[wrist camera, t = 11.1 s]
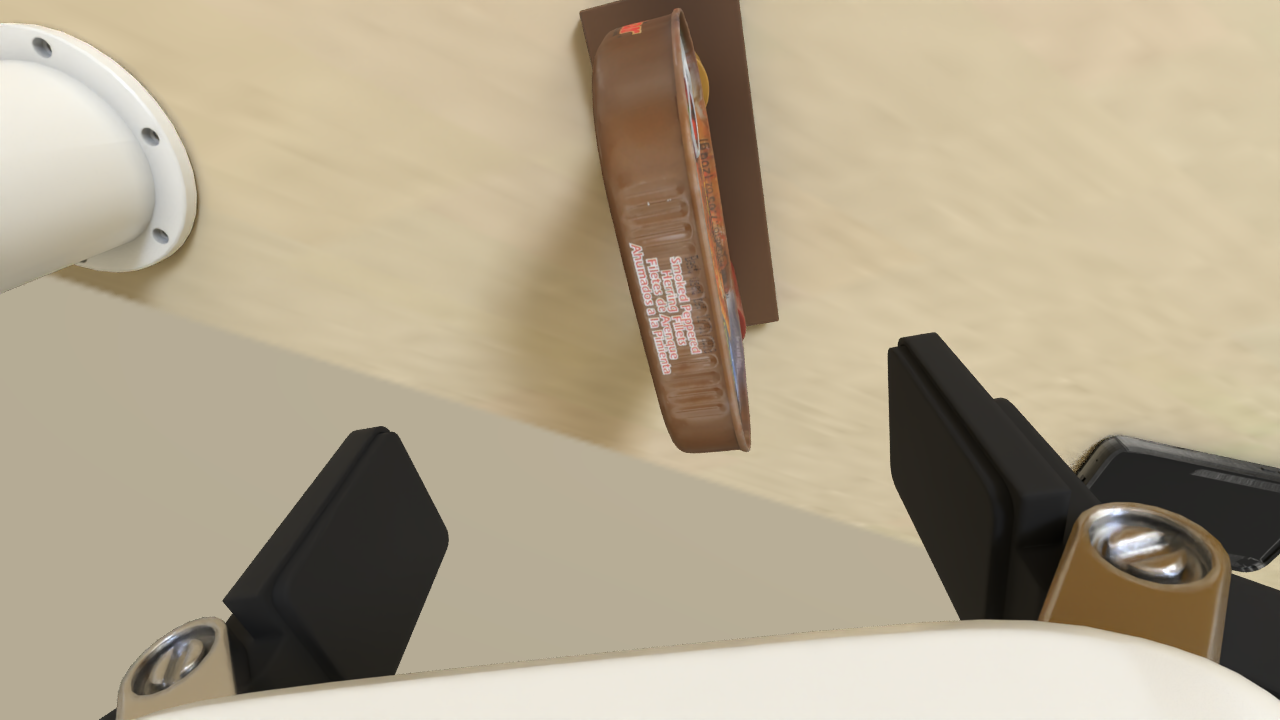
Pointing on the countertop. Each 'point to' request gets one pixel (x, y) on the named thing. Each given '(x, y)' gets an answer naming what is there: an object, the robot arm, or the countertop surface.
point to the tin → (672, 229)
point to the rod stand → (718, 133)
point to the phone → (1194, 492)
